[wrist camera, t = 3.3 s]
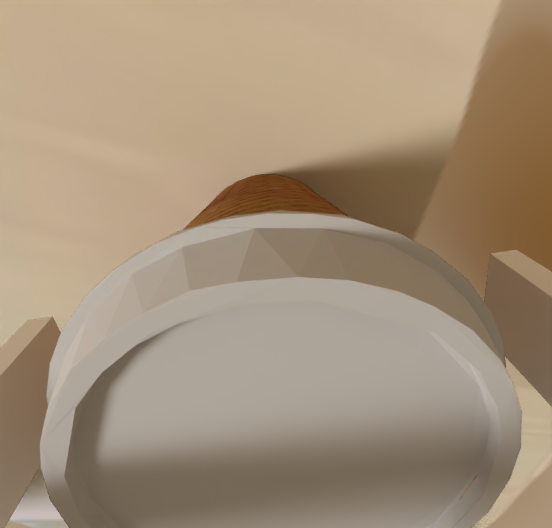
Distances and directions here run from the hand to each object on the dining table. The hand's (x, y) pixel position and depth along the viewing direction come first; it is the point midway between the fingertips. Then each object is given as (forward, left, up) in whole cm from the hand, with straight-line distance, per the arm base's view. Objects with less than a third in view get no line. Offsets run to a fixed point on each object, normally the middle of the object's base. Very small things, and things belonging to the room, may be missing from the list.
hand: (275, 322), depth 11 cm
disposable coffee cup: (0, 0, -7) cm, 7 cm away
